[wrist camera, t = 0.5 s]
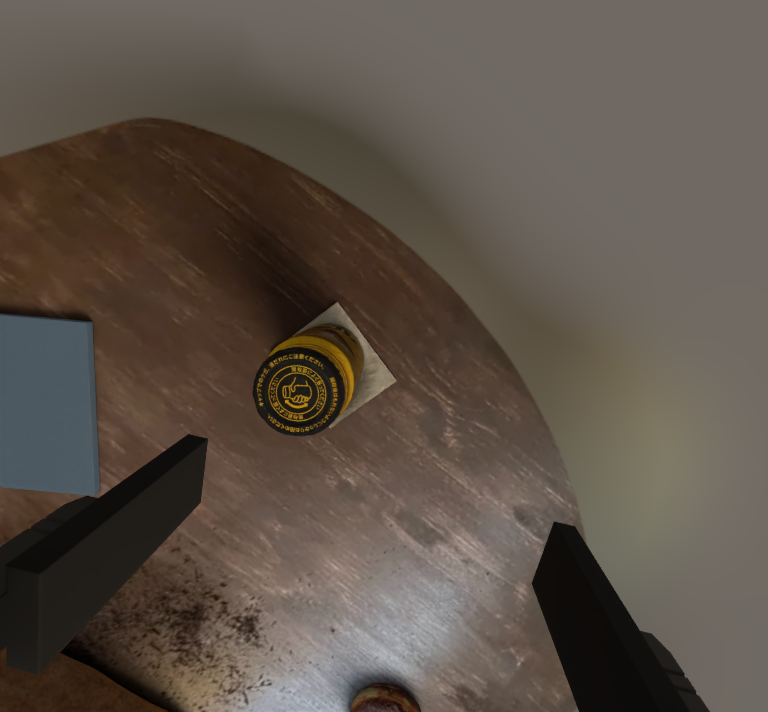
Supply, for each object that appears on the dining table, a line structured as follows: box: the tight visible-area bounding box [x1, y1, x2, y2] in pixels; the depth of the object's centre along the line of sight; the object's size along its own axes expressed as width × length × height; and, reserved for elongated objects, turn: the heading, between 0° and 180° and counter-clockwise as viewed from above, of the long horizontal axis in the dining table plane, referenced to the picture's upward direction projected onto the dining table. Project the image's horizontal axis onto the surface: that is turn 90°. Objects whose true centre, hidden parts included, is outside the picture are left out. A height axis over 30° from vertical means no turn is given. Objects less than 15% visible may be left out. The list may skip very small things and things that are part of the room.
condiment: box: [253, 302, 396, 436], centre depth 28 cm, size 7×8×12 cm
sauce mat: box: [0, 313, 100, 496], centre depth 34 cm, size 16×14×1 cm
